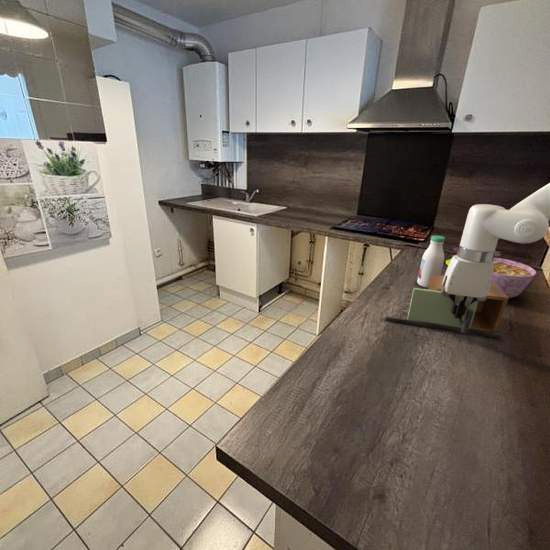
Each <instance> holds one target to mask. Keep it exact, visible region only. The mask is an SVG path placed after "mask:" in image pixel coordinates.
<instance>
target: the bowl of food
mask: <svg viewBox="0 0 550 550" xmlns="http://www.w3.org/2000/svg"><path fill="white" fill-rule="evenodd" d="M492 261H493V262H494V269H493V277H492V281H494V282H495V283H496V284H497V286H498V287H499V288H500V289H501V290H502V291H503V292H504V293H505V294H506V295H507V296H508V298H509V299H512V298H515V297H517V296H519V295H521V294H522V293H523V292H524V291H525V289H526V288H527V287H528V285H529V284H530V283H531V281H532V280H533V279H534V277H535V276H536V274H537V271H536V270H535V269H534V268H532V267H531V266H529V265H527V264H524V263H522V262H518V261H515V260H510V259H506V258H501V257H494V258H493V260H492Z"/></svg>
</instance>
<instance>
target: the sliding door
mask: <svg viewBox="0 0 550 550" xmlns="http://www.w3.org/2000/svg"><path fill="white" fill-rule="evenodd" d="M427 289H428V288H419V287H413V289H412V294H411V299H410V304H409V307H408V313H407V318H406V319H408V320H414V321H421V322H427V323H434V324H440V325H447V326H453V327H460V328H461V332H460V333H462V334H465V335H466V334H468V333H467V332H468V329H470V327H471V324H472V321H473V317H474V314H475V311H476V308H477V305H478V301H476V302H474V303H472V304H470V306H468V307H467V309H466V312H465V315H463V316H462V319H459V318H454V316H453V314H452V313H451V309H452V306H453V301H452V300H451V299H450V298H449V297H445V296H442V295H441V291H435V290H427ZM463 297H464V296H461V297H460V301H462V299H463Z"/></svg>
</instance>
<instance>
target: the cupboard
mask: <svg viewBox="0 0 550 550" xmlns="http://www.w3.org/2000/svg"><path fill="white" fill-rule="evenodd" d="M444 276H445V275H442V274H441V275H432V274H431V276H430V281H429V285H428V288H426V289H427V290H435V291H441V290H442V288H443V286H442V283H443V279H444ZM446 280H447V279H446ZM509 299H510V298H508V296H507V295H506V294H505V293H504V292H503V291H502V290H501V289H500V288H499V287H498V286H497V284H496V283H495V282H494V281H492V282H491V286H490V290H489V293H488V295H487V296H486V300H485V301H478V305H477V308H476V311H475V314H474V317H473V321H472V324H471V327H470V329H468V332H467V333H466V334H472V335H477V336H478V335H479V336H485V337H491V338H496V339H497V338H498V339H499V338H500V337H501V334H500V333H499V332H498V330H499V326H500V323H501V321H502V318H503V315H504V312H505V309H506V306H507V304H508V301H509ZM385 321H388V322H394V323H401V324H407V325H414V326H420V327H427V328H433V329H438V330H444V331H445V330H446V331H452V332H458V333H462V332H461V328H460V327H453V326H447V325H440V324H434V323H427V322H421V321H414V320H408V319H407V318H400V317H393V316H388V315H385Z"/></svg>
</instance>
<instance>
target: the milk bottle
mask: <svg viewBox="0 0 550 550" xmlns="http://www.w3.org/2000/svg"><path fill="white" fill-rule="evenodd" d="M445 240H446V238H445V236H443V235H431V237H430V242H429V243H430V244H429V245H428V247H427V249H425V250H424V253H423V254H422V258H421V262H420V266H419V271H418V275H417V280H416V282H417V285H419V286H421V287H422V288H426V289H428V285H429V281H430V276H431V274H432V275H441V276H442V271H443V268H444V262H445V252H444V245H443V244H445Z"/></svg>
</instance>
